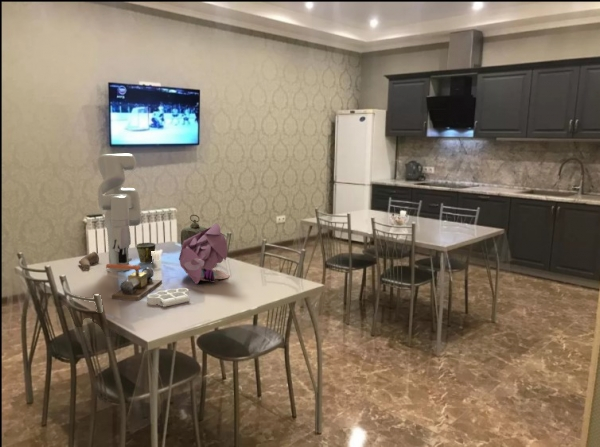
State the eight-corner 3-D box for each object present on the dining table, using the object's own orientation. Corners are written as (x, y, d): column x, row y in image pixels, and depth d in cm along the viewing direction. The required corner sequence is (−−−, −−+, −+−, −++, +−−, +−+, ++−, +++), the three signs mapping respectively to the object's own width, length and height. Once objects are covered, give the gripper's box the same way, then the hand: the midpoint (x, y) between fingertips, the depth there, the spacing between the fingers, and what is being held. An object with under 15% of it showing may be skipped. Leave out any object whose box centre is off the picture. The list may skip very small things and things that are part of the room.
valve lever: (109, 266, 221) (108, 263, 221) (141, 268, 219) (141, 265, 219) (105, 268, 219) (105, 265, 218) (138, 270, 217) (138, 266, 216)
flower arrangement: (241, 291, 237) (254, 235, 233) (197, 291, 221) (210, 231, 217) (206, 268, 262) (217, 217, 259) (165, 266, 247) (176, 212, 243)
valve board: (137, 281, 233) (137, 278, 232) (161, 283, 231) (161, 280, 231) (111, 298, 209) (111, 295, 209) (138, 300, 208) (138, 296, 207)
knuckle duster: (156, 310, 197) (142, 300, 208) (197, 301, 208) (182, 292, 219) (155, 302, 197) (142, 293, 208) (197, 294, 207) (182, 285, 219)
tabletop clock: (210, 258, 276) (209, 215, 271) (199, 262, 268) (198, 217, 264) (191, 255, 283) (190, 212, 279) (180, 258, 276) (178, 214, 271)
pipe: (80, 262, 248) (101, 256, 253) (76, 254, 262) (96, 249, 267) (83, 274, 250) (104, 268, 254) (79, 266, 264) (98, 260, 268)
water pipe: (142, 279, 231) (141, 262, 229) (154, 280, 230) (154, 263, 229) (119, 294, 210) (118, 276, 208) (132, 295, 209) (131, 276, 207)
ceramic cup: (135, 261, 269) (135, 243, 267) (154, 259, 273) (154, 241, 271) (138, 267, 257) (138, 248, 255) (158, 265, 261) (157, 247, 260)
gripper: (120, 220, 230) (123, 258, 233) (104, 225, 215) (106, 266, 219) (136, 220, 229) (138, 259, 232) (120, 226, 214) (122, 267, 218)
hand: (122, 262), depth 225 cm, fingers closed
